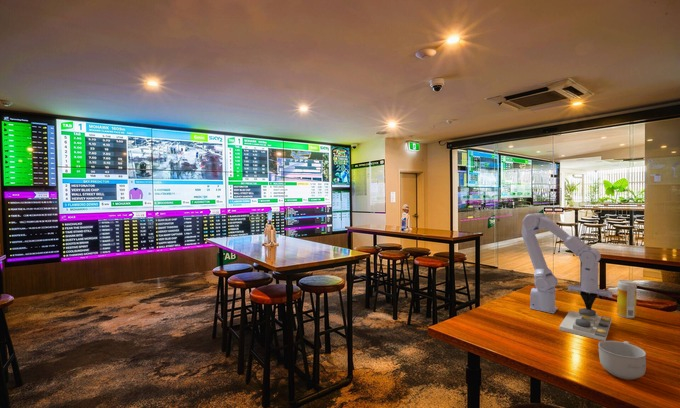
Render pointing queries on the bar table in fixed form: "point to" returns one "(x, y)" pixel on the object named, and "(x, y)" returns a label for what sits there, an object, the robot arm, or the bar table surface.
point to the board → (595, 331)
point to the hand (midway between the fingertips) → (588, 310)
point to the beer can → (626, 299)
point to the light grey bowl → (622, 359)
